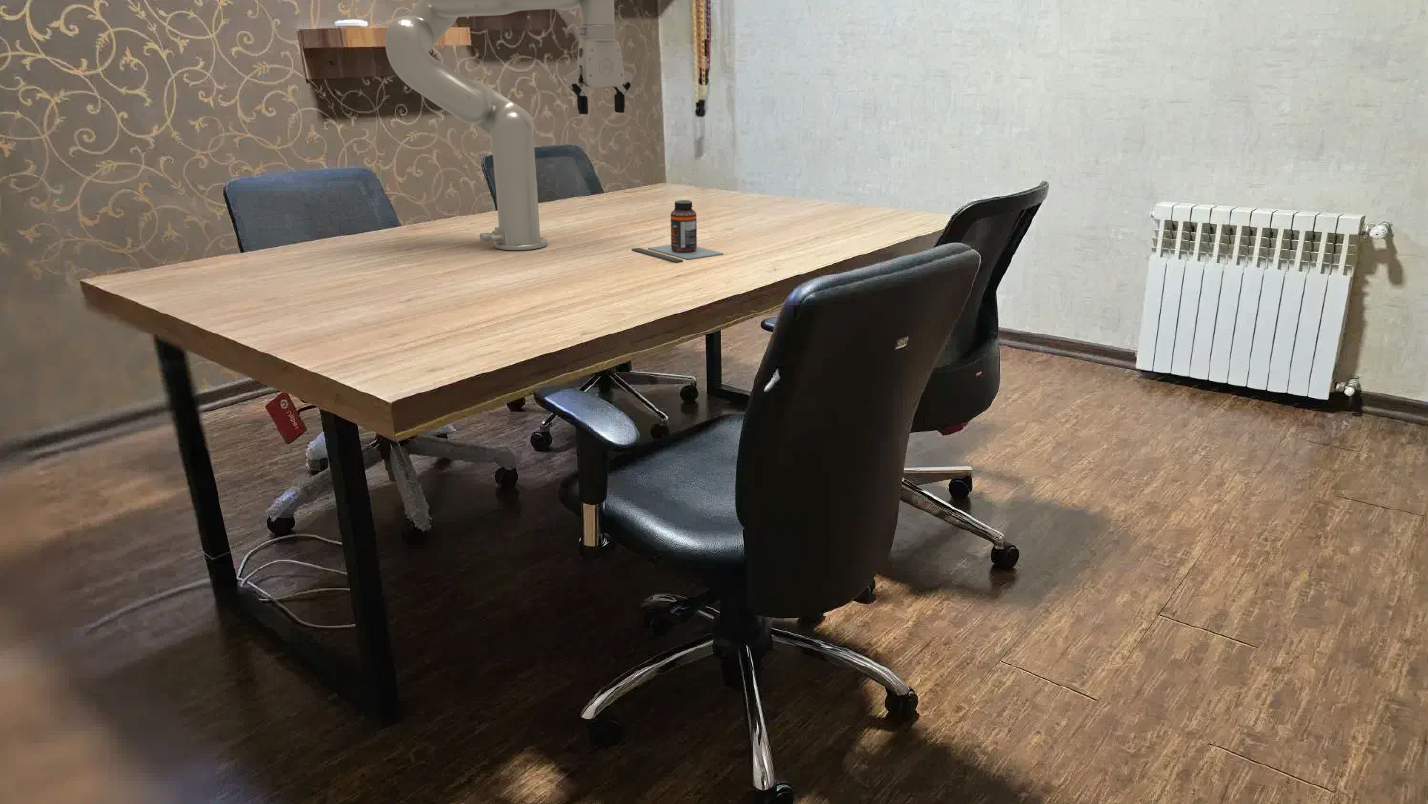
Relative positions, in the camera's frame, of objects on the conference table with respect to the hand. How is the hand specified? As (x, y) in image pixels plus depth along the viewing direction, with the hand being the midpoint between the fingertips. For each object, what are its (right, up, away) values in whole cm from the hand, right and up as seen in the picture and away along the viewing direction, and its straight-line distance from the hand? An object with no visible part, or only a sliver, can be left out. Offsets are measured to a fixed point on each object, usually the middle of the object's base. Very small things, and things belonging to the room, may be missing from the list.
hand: (601, 113), depth 224 cm
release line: (+13, -34, -4) cm, 36 cm away
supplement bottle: (+19, -32, 0) cm, 37 cm away
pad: (+19, -32, 0) cm, 37 cm away
